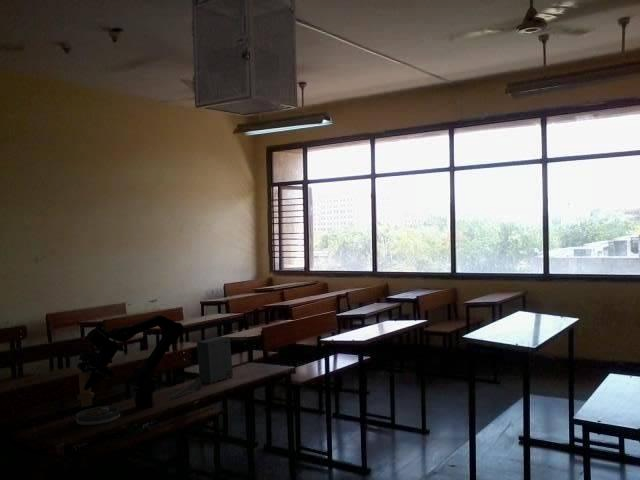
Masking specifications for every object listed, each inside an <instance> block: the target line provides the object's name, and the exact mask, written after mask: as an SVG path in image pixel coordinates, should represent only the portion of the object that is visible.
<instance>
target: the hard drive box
mask: <svg viewBox="0 0 640 480" xmlns="http://www.w3.org/2000/svg"><path fill="white" fill-rule="evenodd" d="M231 345H232V344H231V337H230V336H216V337H213V338H208V339H204V340H200V341H199V340H198V341H196V349H197V361H198V373H199V375H198V377H199V379H200V380H201V384H208V385H211V384H214V383H213V382H215V383H217V382H216V381H218V380H221V381H223V380H222V379H225V378H228V379H230V378H229V377H231V378H233V377H234V373H233V358H232V349H231ZM232 376H233V377H232ZM225 380H226V379H225ZM218 382H219V381H218Z"/></svg>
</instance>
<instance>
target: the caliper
mask: <svg viewBox="0 0 640 480" xmlns="http://www.w3.org/2000/svg"><path fill="white" fill-rule="evenodd" d="M194 389H196V391H199V390H202V383H201V380H200V376H196V377H195V380H194V381H192V382H190V383H189V384H188V385H187V386H185V387H184V388H182V389H181V390H179V391H177V392H175V393H174V394H172V395H171V396H170V397H169V398H168V400H167V401H174V400H175V399H177V398H178V397H181V395H183V394H185V393H186V392H188V391H193V390H194Z"/></svg>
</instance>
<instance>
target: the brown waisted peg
mask: <svg viewBox="0 0 640 480" xmlns="http://www.w3.org/2000/svg"><path fill="white" fill-rule="evenodd" d="M89 378H90V372H82V371H81V372H79V373H78V383H79V384H78V386H80V389H79V394H77V401H80V407H81V408H86V407H91V406H92V405H93V399H94V398H95V392H93V391H92V387H91V388H89V389H88V390H84V387H85V385H86V383H87V382H88V380H89Z"/></svg>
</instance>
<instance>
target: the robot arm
mask: <svg viewBox="0 0 640 480" xmlns="http://www.w3.org/2000/svg"><path fill="white" fill-rule="evenodd" d="M156 327H158V328H160V330H162V332H161V338H160V340H159V341H158V342H157V344H156V346H155V348H154V349H153V350H152V352H151V354H150V355H149V356H148V358H147V359H146V361H145V362H144V364H143V365H142V366H141V367H139V368H138V367H136V368H134V370H133V372H132V373H131V375H130V376H129V377H130V378H129V381H128V382H129V385H130V387H131V388H132V390H133V391H134V392H136V393H135V394H136V395H135V396H134V401H135V402H134V403H135V409H149V408H153V407H154V405H155V403H156V402H154V392H156V388H157V386H156V385H155V384H154V383H153V382H152V380H153V374H154V372H155V369H156V368H157V367H158V364H159V363H160V362H161V360H162V358H163V357H164V356H165V355H166V352H167V351H168V349H169V348H170V346H171V345H172V344H173V343H174V342H175V341H177V340H178V339H179V338H180V336H182V334H183V333H184V330H185V329H184V326H183V323H181V322H176V321H174V320H172V319H169V318H167V317H165V316H164V315H162V314H161V315H160V314H156V315H154V316H153V317H150V318H147V319H144V320H141V321H138V322H135V323H133V324H129V325H121V326H115V327H113V328H112V329H111V331H110V330H109V331H107V332H106V331H105V330H104V329H103V327H101V326H100V325H97V326H95V327H94V328H93V329H92V330H90V331H89V332H88V333H87V334H86V336H85V340H86V341H88V342H89V343H90V344H92V345H93V346H94V347H95V348H97V349H99V348H100V350H99V352H98V351H93V350H91V351H90V352H86V351H81V353H80V355H79V358H78V360H79V361H80V362H79V363H77V364H76V368H78V369H79V370H80V371H81V372H90V378H89V380H88V382H87V383H86V385H85V387H84V390H88V389H89V388H91V389H92V387H94V386H96V385H97V384H99V383H100V382H102V381H105V380H106V378H107V379H109V380H112V379H113V377H114V376H115V372H114V370H113V369H111V368H110V367H109V366H108V365H109V364H112V363H113V358H114V357H115V355H116V354H117V352H124V351H125V349H124V344H121V343H124V342H127V341H129V340H131V339H133V337H135V336H136V335H137V334H140V333H144V332H146V331H147V330H151V329H153V328H156ZM118 342H121V343H118ZM84 361H85V362H84ZM105 377H106V378H105ZM77 388H78V389H79V390H80V386H79V385H78V387H77Z"/></svg>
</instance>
